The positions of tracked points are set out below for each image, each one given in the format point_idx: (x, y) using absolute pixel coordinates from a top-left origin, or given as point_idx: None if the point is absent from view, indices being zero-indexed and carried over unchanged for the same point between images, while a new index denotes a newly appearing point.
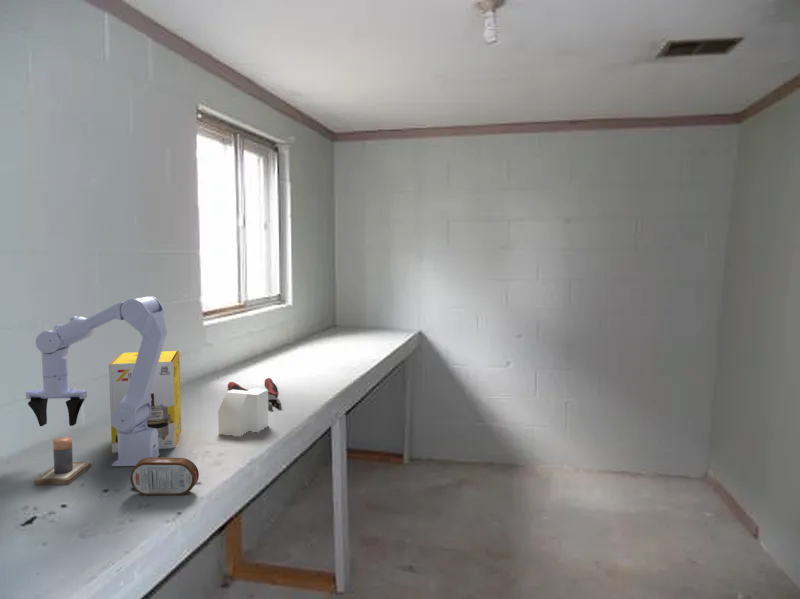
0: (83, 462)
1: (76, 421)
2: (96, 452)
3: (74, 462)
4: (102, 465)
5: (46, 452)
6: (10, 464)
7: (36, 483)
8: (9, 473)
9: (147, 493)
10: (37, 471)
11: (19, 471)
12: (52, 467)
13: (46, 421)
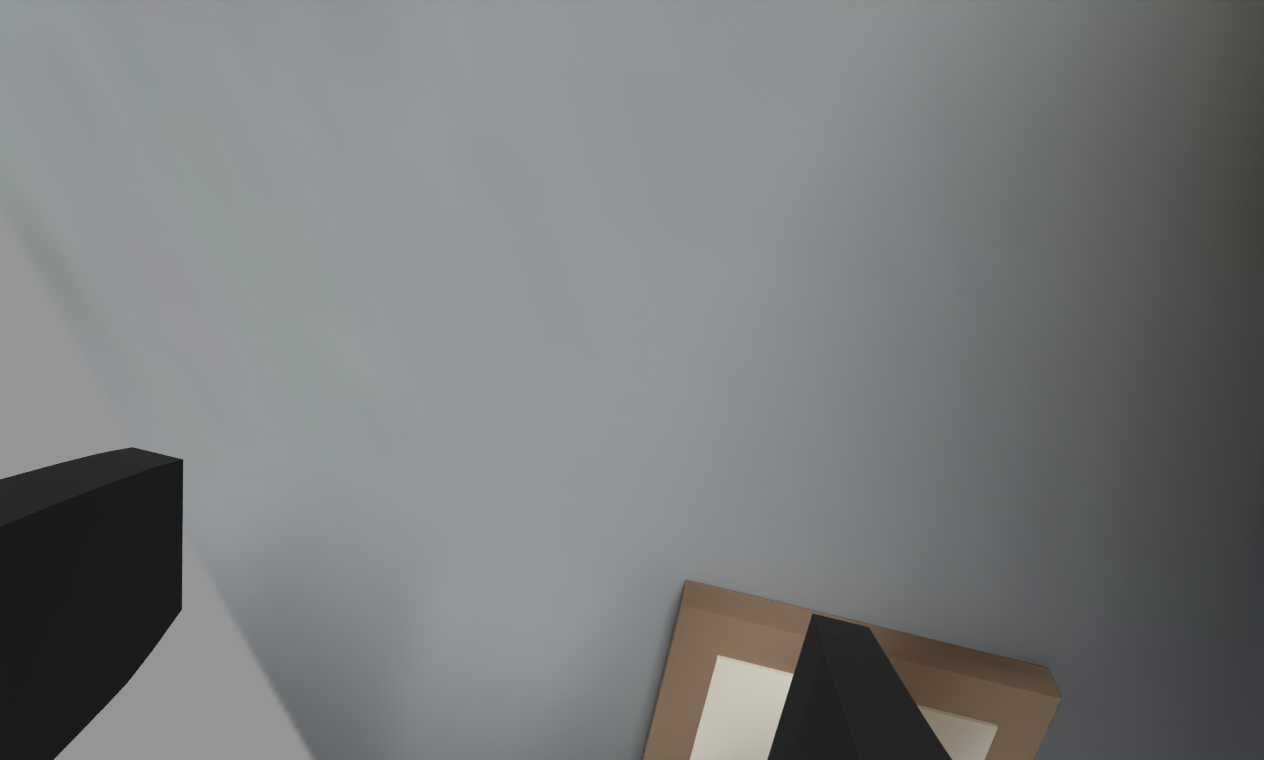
0: (968, 679)
1: (887, 660)
2: (1058, 201)
3: None
4: (1178, 687)
5: (345, 25)
6: (127, 370)
7: None
8: (256, 618)
9: None
10: (504, 646)
11: (325, 595)
12: (653, 718)
13: (148, 488)
